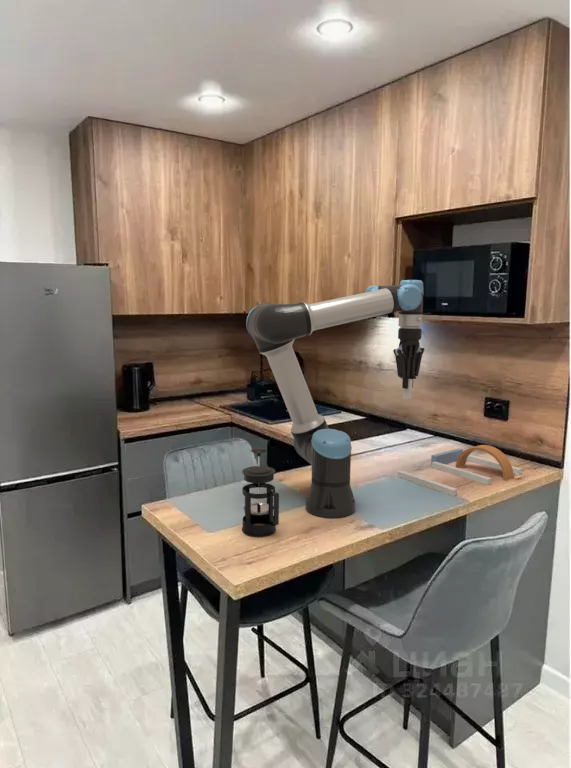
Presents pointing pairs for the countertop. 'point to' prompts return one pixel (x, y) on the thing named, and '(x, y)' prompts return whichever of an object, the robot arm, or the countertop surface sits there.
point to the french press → (259, 510)
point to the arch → (494, 452)
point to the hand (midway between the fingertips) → (407, 397)
